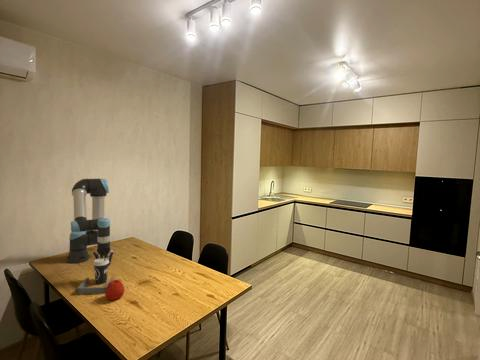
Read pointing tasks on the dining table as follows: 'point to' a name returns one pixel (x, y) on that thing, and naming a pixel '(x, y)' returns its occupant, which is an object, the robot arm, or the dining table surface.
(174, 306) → the dining table surface
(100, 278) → the coffee cup
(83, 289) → the bay
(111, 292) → the apple
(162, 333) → the dining table surface
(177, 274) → the dining table surface
